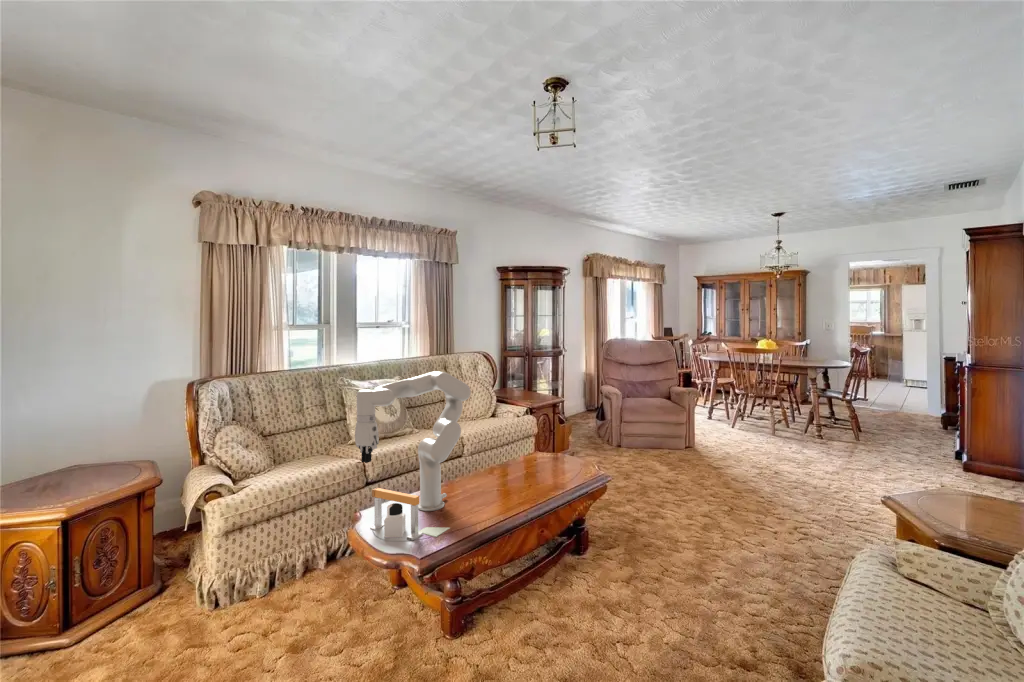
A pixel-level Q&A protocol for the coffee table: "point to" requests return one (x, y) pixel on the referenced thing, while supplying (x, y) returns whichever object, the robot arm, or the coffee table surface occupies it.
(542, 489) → the coffee table surface
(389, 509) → the medicine bottle
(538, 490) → the coffee table surface
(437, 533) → the coaster
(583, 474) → the coffee table surface
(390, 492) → the bar
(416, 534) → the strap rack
